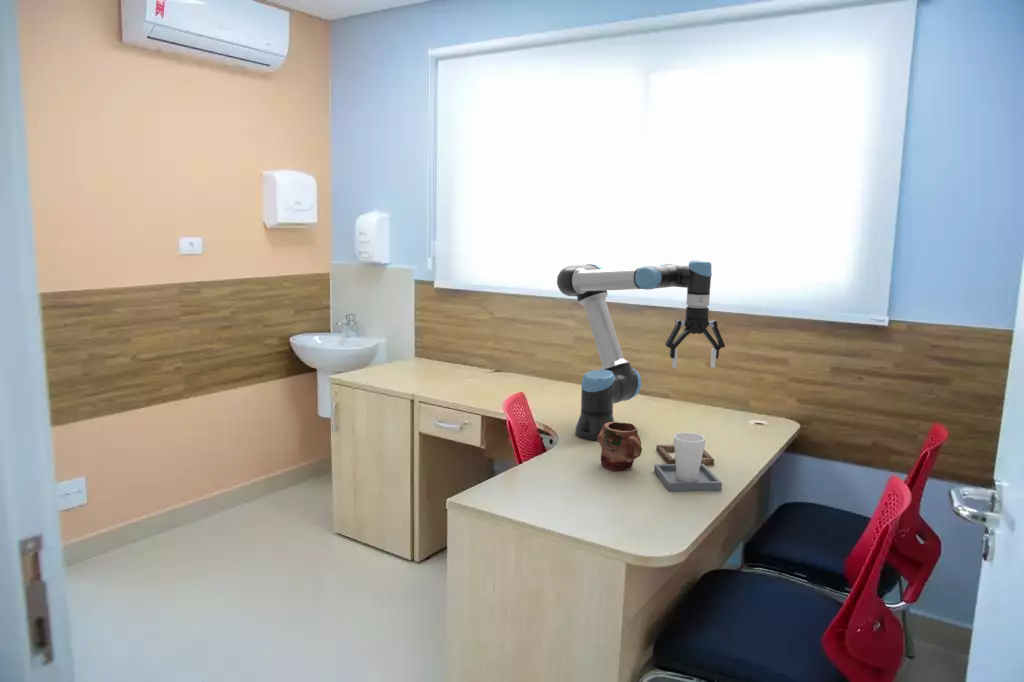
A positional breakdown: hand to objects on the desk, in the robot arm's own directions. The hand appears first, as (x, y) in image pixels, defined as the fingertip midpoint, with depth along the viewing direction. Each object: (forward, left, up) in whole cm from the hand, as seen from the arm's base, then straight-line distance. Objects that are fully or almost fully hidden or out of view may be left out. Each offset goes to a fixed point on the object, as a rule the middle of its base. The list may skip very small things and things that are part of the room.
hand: (693, 367), depth 250 cm
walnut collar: (-5, -11, -29) cm, 31 cm away
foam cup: (-11, -32, -28) cm, 44 cm away
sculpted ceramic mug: (-29, -20, -29) cm, 46 cm away
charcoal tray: (-11, -32, -29) cm, 44 cm away
